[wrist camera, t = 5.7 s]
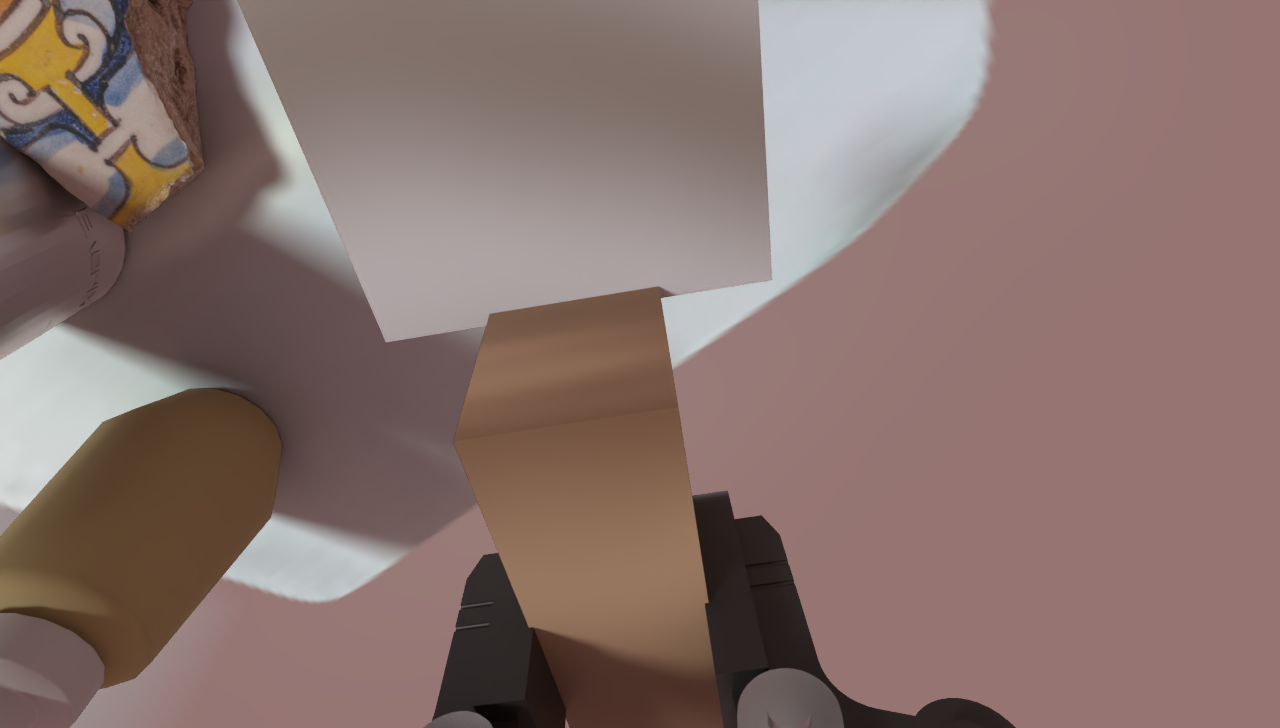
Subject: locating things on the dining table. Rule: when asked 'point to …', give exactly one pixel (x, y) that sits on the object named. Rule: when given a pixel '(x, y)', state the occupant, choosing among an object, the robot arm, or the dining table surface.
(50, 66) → the ceramic tile fragment
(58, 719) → the squeeze bottle
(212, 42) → the dining table surface
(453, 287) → the wooden bar with blade
